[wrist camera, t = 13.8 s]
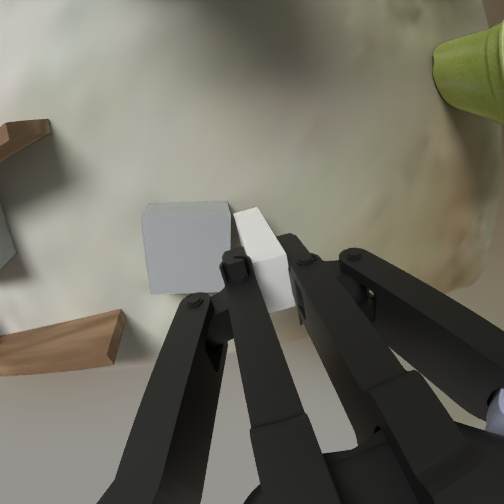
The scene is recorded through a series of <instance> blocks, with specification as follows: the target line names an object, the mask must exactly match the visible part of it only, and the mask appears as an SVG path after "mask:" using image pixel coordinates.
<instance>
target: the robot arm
mask: <svg viewBox="0 0 504 504" xmlns="http://www.w3.org/2000/svg"><path fill="white" fill-rule="evenodd" d="M233 215H234V219H235V223H236V227H237V231H238V234H239V238H240V242H241V246H242V247H239V248H236V249H232V250H228V251H225V252H224V254H223V256H222V262H221V263H220V266H219V268H220V271H221V274H222V278H223V281H224V284H225V287H224V288H223V289H222V290H221V291H220V292H219V293H217V294H215V295H213V296H211V297H210V296H209V295H208V294H207V293H204V292H197V293H193V294H191V295H188V296H187V297H185V298H184V299H183V300H182V301H181V303H180V304H179V307H178V309H177V312H176V314H175V316H174V319H173V321H172V324H171V326H170V329H169V331H168V333H167V336H166V338H165V341H164V343H163V346H162V348H161V351H160V353H159V356H158V359H157V361H156V364H155V366H154V369H153V372H152V374H151V377H150V379H149V382H148V385H147V388H146V390H145V393H144V395H143V398H142V401H141V404H140V407H139V409H138V412H137V415H136V417H135V420H134V423H133V426H132V429H131V432H130V435H129V438H128V440H127V443H126V446H125V449H124V452H123V455H122V459H121V461H120V465H119V468H118V471H117V474H116V477H115V480H114V481H113V483H112V484H111V485H110V487H109V488H108V489H107V491H106V492H105V493H104V495H103V496H102V497H101V498H100V500H99V501H98V502H97V504H200V502H201V498H202V492H203V486H204V480H205V475H206V468H207V463H208V456H209V451H210V445H211V439H212V433H213V428H214V422H215V416H216V410H217V404H218V398H219V393H220V388H221V382H222V376H223V371H224V365H225V359H226V354H227V348H228V342H227V341H229V340H231V339H233V338H234V341H235V347H236V352H237V357H238V363H239V368H240V373H241V378H242V383H243V388H244V393H245V398H246V403H247V408H248V413H249V418H250V423H251V429H250V438H251V443H252V448H253V453H254V457H255V462H256V466H257V471H258V475H259V480H260V485H258V486H257V488H255V489H254V490H253V491H252V492H251V494H250V495H249V496H248V497H247V499H246V500H245V502H244V504H504V331H503V330H501V329H499V328H498V327H496V326H495V325H493V324H492V323H490V322H489V321H487V320H486V319H484V318H482V317H481V316H479V315H478V314H476V313H474V312H473V311H471V310H470V309H468V308H466V307H465V306H463V305H461V304H460V303H458V302H456V301H455V300H453V299H451V298H450V297H448V296H446V295H445V294H443V293H441V292H440V291H438V290H436V289H435V288H433V287H431V286H429V285H428V284H426V283H424V282H423V281H421V280H419V279H417V278H416V277H414V276H412V275H410V274H408V273H407V272H405V271H403V270H401V269H399V268H398V267H396V266H394V265H392V264H390V263H389V262H387V261H385V260H383V259H381V258H379V257H377V256H376V255H374V254H372V253H370V252H368V251H366V250H364V249H361V248H349V249H346V250H344V251H342V252H341V253H340V254H339V260H336V261H323V260H322V259H321V258H320V257H319V256H318V255H316V254H313V253H309V251H308V250H307V249H306V247H305V246H304V245H303V244H302V242H301V241H300V240H299V239H298V237H297V236H296V235H293V234H291V233H288V234H284V235H281V236H277V237H275V235H274V233H273V232H272V230H271V229H270V227H269V225H268V224H267V222H266V221H265V219H264V217H263V216H262V214H261V213H260V211H259V210H258V208H257V207H256V208H252V209H248V210H244V211H240V212H237V213H233ZM369 289H370V290H371V291H372V292H373V293H374V295H373V294H371V293H369ZM294 299H295V301H296V302H297V307H298V313H299V319H300V325H302V324H303V323H304V325H305V327H306V329H307V331H308V333H309V335H310V338H311V340H312V341H313V344H314V346H315V348H316V350H317V352H318V354H319V356H320V358H321V360H322V363H323V365H324V367H325V369H326V371H327V373H328V375H329V377H330V380H331V382H332V384H333V386H334V388H335V390H336V392H337V394H338V397H339V399H340V401H341V403H342V405H343V407H344V409H345V412H346V414H347V416H348V418H349V420H350V422H351V425H352V426H353V429H354V431H355V434H356V438H357V443H358V446H357V447H356V448H354V449H352V450H346V451H340V452H332V453H323V454H322V452H321V449H320V447H319V444H318V441H317V439H316V436H315V433H314V431H313V428H312V425H311V423H310V420H309V418H308V416H307V414H306V413H305V412H304V409H303V407H302V404H301V401H300V399H299V396H298V393H297V390H296V387H295V385H294V382H293V379H292V376H291V374H290V371H289V368H288V365H287V363H286V360H285V357H284V355H283V351H282V349H281V346H280V343H279V340H278V338H277V335H276V332H275V329H274V326H273V324H272V321H271V318H270V315H269V314H270V313H273V312H277V311H280V310H284V309H287V308H290V307H294V306H295V301H294ZM302 321H303V322H302ZM388 346H389V347H390V348H391V349H392V350H394V351H395V352H396V353H397V354H398V355H400V356H401V357H402V358H403V359H404V360H406V361H407V362H408V363H409V364H411V365H412V366H413V367H414V368H415V369H416V370H418V371H419V372H420V373H421V374H423V375H424V376H425V377H426V378H427V379H428V380H430V381H431V382H432V383H433V384H434V385H436V386H437V387H438V388H439V389H440V390H442V391H443V392H444V393H445V394H446V395H447V396H449V397H450V398H451V399H452V400H453V401H454V402H456V403H457V404H458V405H459V406H461V407H462V408H463V409H465V410H466V411H467V412H469V413H470V414H472V415H474V416H476V417H477V418H479V419H482V420H484V421H486V423H487V425H486V428H485V430H481V429H478V428H474V427H471V426H468V425H465V424H462V423H458V422H455V421H453V419H452V418H451V417H450V415H449V413H448V412H447V410H446V409H445V407H444V406H443V405H442V403H441V402H440V400H439V399H438V397H437V396H436V395H435V393H434V392H433V390H432V389H431V387H430V386H429V385H428V383H427V382H426V380H425V379H424V378H423V376H422V375H421V374H420V373H419V372H417V371H415V370H412V371H406V370H405V369H404V368H403V366H402V365H401V364H400V362H399V361H398V359H397V358H396V357H395V355H394V354H393V352H392V351H391V350H390V348H389V347H388Z"/></svg>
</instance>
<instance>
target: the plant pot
mask: <svg viewBox="0 0 504 504" xmlns="http://www.w3.org/2000/svg"><path fill="white" fill-rule="evenodd" d="M433 58H434V66H433V71H432V72H433V77H434V80H435V83H436V86H437V88H438V90H439V92H440V94H441V95H442V97H443V98H444V99H445V101H446V102H447V103H449V104H450V105H452V106H453V107H455V108H457V109H460V110H463V111H467V112H470V113H473V114H476V115H479V116H482V117H484V118H487V119H490V120H492V121H495V122H497V123H500V124H502V125H504V19H503V21H502V23H501V24H497V25H495V26H493V27H492V28H491V29H489V30H485V31H482V32H478V33H474V34H471V35H467V36H464V37H461V38H458V39H454V40H451V41H448V42H445V43H442V44H439V45H438V46H437V47H436V49H435V50H434V53H433Z"/></svg>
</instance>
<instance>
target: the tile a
mask: <svg viewBox="0 0 504 504" xmlns="http://www.w3.org/2000/svg"><path fill="white" fill-rule="evenodd" d="M16 253H17V251H16V248H15V246H14V243H13V240H12V237H11V234H10V231H9V229H8V226H7V222H6V219H5V216H4V213H3V209H2V206H1V202H0V269H1V268H2V267H3V266H4V265H5V264H6V263H7V262H8V261H9V260H10V259H11V258H12V257H13V256H14V255H15V254H16Z"/></svg>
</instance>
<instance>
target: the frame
mask: <svg viewBox="0 0 504 504" xmlns="http://www.w3.org/2000/svg"><path fill="white" fill-rule="evenodd" d="M49 133H51V129H50V124H49V120H48V119H39V120H27V121H17V122H8V123H5V124H3V125H2V126H1V127H0V163H1V162H3V161H4V160H6V159H7V158H9V157H10V156H12V155H13V154H15V153H16V152H18V151H20V150H21V149H23V148H25V147H26V146H28V145H30V144H31V143H33V142H35V141H36V140H38V139H40V138H42V137H44V136H45V135H47V134H49ZM125 321H126V318H125V316H124V314H123V312H122V311H121V309H120V310H115V311H111V312H107V313H103V314H99V315H94V316H90V317H86V318H81V319H77V320H73V321H68V322H64V323H59V324H55V325H50V326H46V327H41V328H37V329H32V330H27V331H23V332H18V333H13V334H8V335H4V336H0V376H17V375H31V374H43V373H54V372H63V371H72V370H80V369H88V368H95V367H102V366H109V365H114V362H115V358H116V354H117V350H118V347H119V343H120V339H121V335H122V332H123V328H124V325H125Z"/></svg>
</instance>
